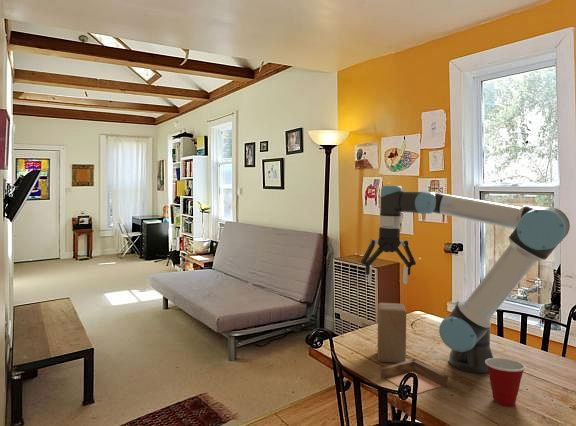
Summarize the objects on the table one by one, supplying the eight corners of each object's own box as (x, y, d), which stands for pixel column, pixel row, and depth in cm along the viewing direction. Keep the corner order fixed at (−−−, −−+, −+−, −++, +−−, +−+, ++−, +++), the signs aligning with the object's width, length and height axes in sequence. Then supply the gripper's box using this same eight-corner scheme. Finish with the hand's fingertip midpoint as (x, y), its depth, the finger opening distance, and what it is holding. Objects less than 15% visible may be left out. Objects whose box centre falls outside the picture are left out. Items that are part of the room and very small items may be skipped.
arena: (413, 368, 146) (413, 359, 146) (447, 386, 133) (447, 375, 133) (380, 377, 139) (380, 367, 139) (413, 397, 126) (413, 386, 126)
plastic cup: (511, 392, 129) (512, 354, 129) (532, 410, 119) (533, 370, 118) (477, 392, 129) (478, 355, 128) (495, 411, 118) (496, 370, 117)
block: (405, 364, 150) (406, 310, 149) (377, 362, 152) (378, 309, 151) (403, 353, 159) (404, 303, 158) (377, 352, 161) (377, 301, 160)
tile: (413, 372, 144) (413, 371, 144) (440, 386, 133) (440, 385, 133) (387, 379, 138) (387, 378, 138) (413, 395, 127) (413, 394, 127)
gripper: (418, 226, 157) (416, 281, 159) (354, 225, 156) (352, 280, 158) (426, 228, 150) (423, 286, 151) (358, 227, 148) (356, 285, 150)
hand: (387, 283), depth 154 cm, fingers open, 13 cm apart
